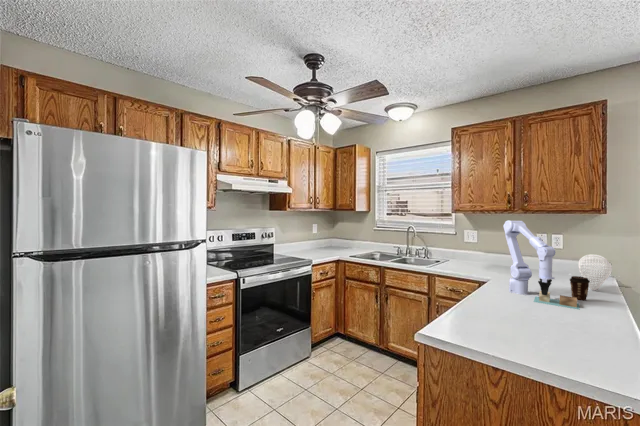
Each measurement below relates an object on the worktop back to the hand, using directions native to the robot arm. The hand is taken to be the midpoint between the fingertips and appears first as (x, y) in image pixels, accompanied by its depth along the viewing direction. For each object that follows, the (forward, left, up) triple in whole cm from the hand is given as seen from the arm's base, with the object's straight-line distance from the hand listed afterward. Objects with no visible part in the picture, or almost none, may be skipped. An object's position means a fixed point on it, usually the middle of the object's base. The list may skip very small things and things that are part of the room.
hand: (544, 293), depth 169 cm
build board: (+5, 0, -5) cm, 7 cm away
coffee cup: (+15, +18, -5) cm, 24 cm away
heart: (+23, +55, -5) cm, 60 cm away
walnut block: (+10, 0, -4) cm, 11 cm away
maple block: (0, 0, -4) cm, 4 cm away
